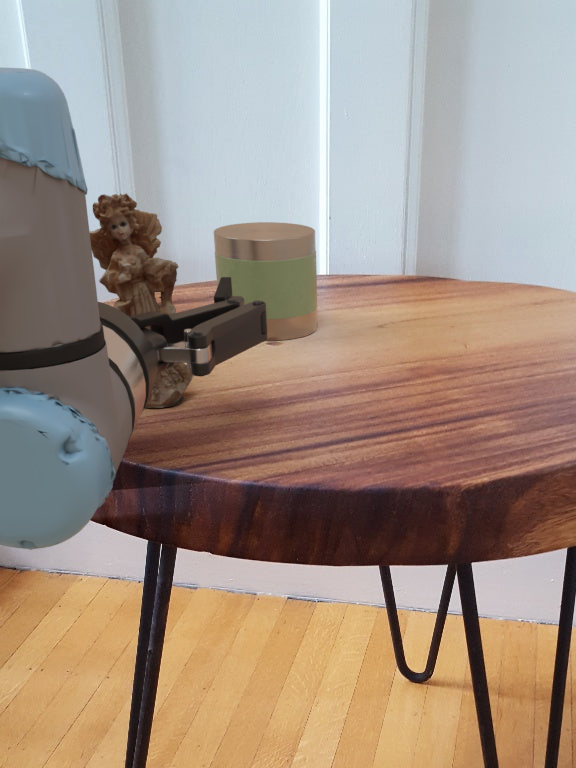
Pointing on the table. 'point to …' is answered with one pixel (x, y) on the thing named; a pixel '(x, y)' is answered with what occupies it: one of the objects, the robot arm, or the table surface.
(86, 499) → the robot arm
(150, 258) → the figurine
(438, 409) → the table surface
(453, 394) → the table surface
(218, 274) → the tin can
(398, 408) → the table surface
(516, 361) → the table surface
